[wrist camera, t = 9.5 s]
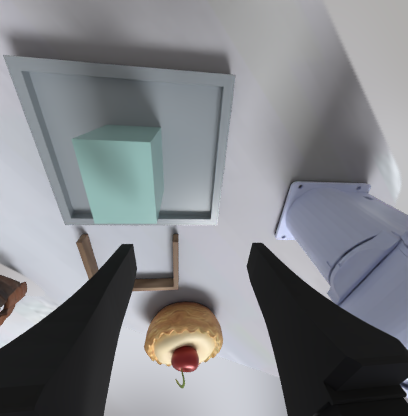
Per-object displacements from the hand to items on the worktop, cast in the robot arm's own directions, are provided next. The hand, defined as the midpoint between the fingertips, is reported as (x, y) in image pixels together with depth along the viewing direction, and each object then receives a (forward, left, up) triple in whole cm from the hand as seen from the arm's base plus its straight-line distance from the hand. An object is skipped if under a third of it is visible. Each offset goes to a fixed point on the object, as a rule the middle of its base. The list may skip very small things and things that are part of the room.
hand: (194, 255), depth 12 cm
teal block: (+5, -3, -10) cm, 11 cm away
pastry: (0, +25, -11) cm, 27 cm away
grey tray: (+5, -3, -10) cm, 12 cm away
